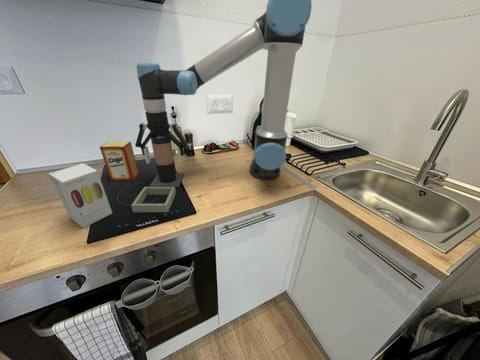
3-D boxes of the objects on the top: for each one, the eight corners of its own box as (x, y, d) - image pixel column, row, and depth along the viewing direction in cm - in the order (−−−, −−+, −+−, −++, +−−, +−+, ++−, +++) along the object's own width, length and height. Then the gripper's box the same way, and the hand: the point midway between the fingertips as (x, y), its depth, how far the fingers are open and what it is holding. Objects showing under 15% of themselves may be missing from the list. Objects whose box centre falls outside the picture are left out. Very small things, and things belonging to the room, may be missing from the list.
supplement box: (82, 229, 61) (59, 182, 53) (69, 218, 65) (45, 173, 57) (113, 212, 68) (97, 169, 60) (99, 203, 73) (82, 162, 64)
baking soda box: (111, 180, 87) (99, 145, 79) (117, 173, 93) (107, 140, 85) (133, 180, 88) (123, 146, 80) (138, 173, 93) (130, 140, 85)
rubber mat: (184, 173, 94) (184, 172, 94) (178, 187, 84) (178, 186, 84) (158, 173, 94) (158, 172, 93) (149, 187, 83) (149, 186, 83)
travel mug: (171, 184, 85) (164, 139, 75) (155, 182, 86) (145, 137, 76) (179, 176, 91) (174, 133, 81) (164, 174, 92) (157, 131, 82)
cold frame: (176, 193, 80) (175, 186, 78) (168, 212, 70) (166, 205, 68) (145, 193, 79) (144, 186, 78) (133, 212, 69) (131, 205, 67)
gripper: (191, 109, 78) (195, 159, 88) (126, 108, 76) (138, 158, 87) (187, 113, 71) (193, 166, 82) (116, 111, 70) (131, 165, 80)
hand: (165, 162), depth 84 cm, fingers open, 13 cm apart
